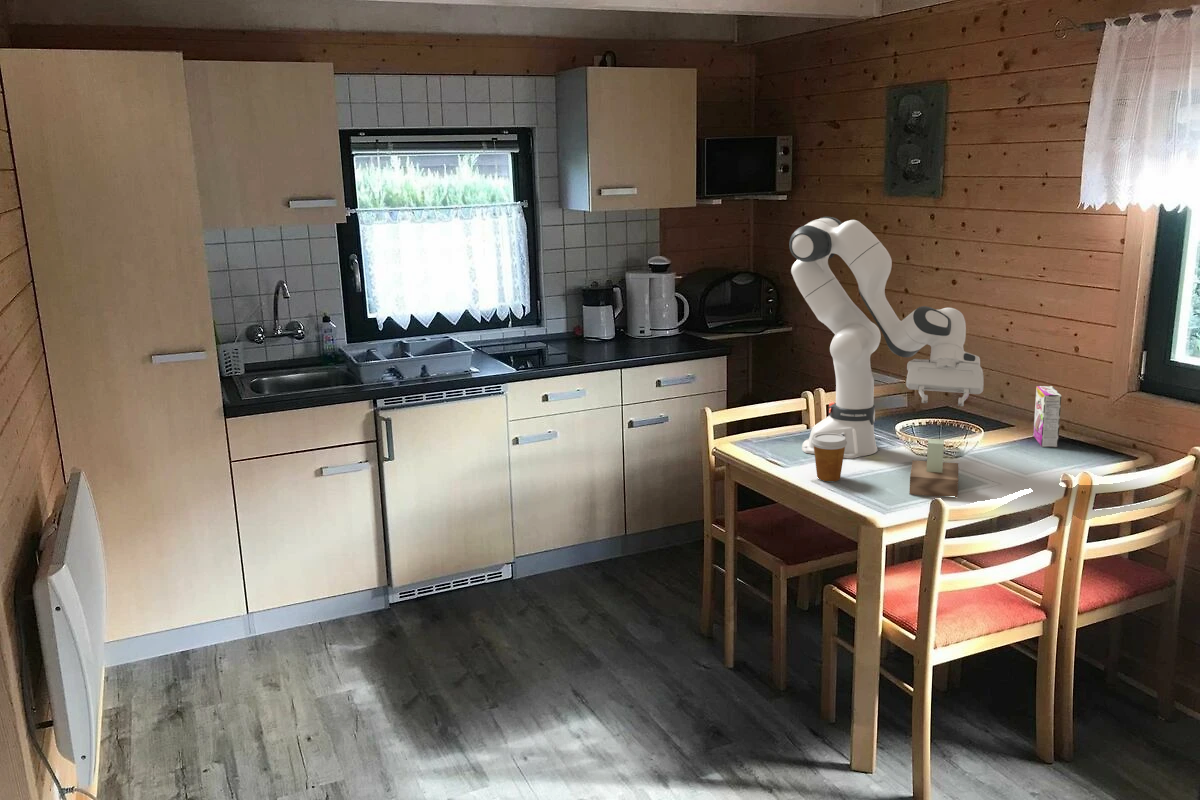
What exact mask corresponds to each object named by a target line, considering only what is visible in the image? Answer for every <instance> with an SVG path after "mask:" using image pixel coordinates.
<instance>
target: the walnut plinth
mask: <svg viewBox="0 0 1200 800" xmlns="http://www.w3.org/2000/svg"><path fill="white" fill-rule="evenodd" d="M959 469H960V468H959V463H958V462H947V461H945V462H944V461H943V469H942V473H939V472H926V471H927V460H914V459H913V460H911V468H910V476H909V491H908V493H909V495H913V494H914V496H915V495H916V496H927V497H939V496H955V497H958V496H959Z"/></svg>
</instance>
